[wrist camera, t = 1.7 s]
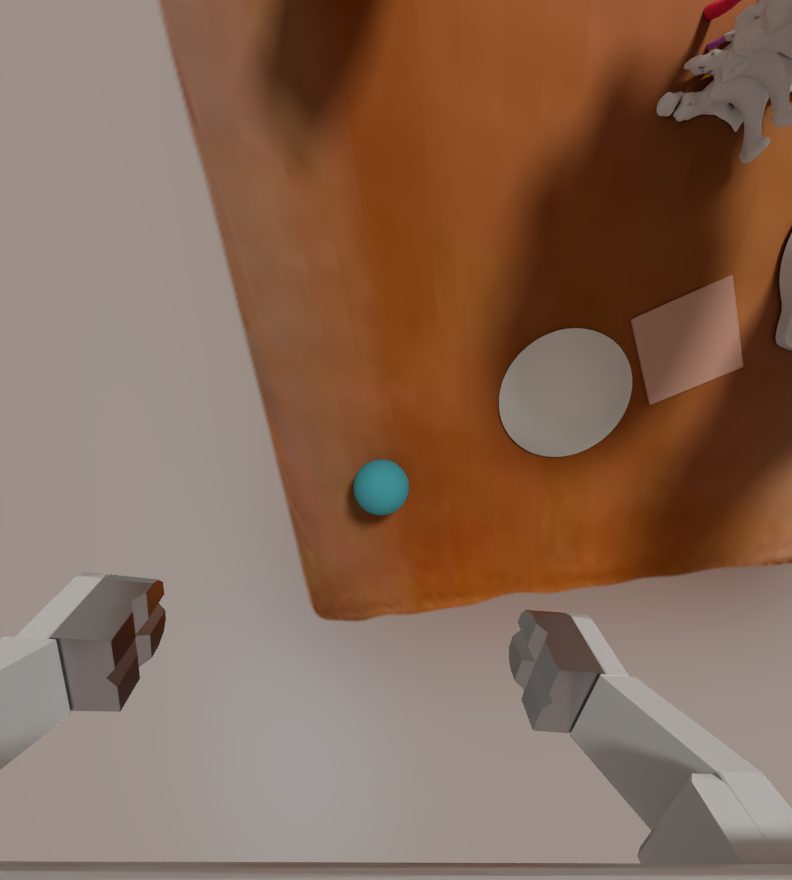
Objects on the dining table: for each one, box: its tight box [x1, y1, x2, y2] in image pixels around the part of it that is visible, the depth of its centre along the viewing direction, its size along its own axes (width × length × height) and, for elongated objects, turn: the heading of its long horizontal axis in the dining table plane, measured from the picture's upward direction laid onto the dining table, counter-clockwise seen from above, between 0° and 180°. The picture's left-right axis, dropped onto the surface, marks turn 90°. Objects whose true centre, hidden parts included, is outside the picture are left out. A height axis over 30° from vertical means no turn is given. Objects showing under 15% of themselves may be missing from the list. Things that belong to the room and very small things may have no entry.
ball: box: [353, 459, 409, 515], centre depth 39 cm, size 6×6×6 cm
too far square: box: [630, 275, 743, 405], centre depth 37 cm, size 9×9×1 cm
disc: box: [499, 328, 632, 457], centre depth 38 cm, size 13×13×1 cm
